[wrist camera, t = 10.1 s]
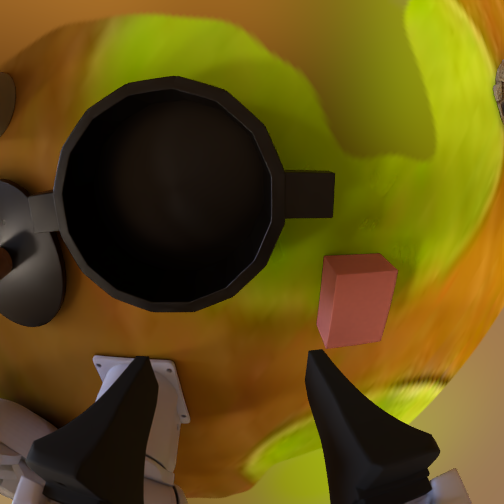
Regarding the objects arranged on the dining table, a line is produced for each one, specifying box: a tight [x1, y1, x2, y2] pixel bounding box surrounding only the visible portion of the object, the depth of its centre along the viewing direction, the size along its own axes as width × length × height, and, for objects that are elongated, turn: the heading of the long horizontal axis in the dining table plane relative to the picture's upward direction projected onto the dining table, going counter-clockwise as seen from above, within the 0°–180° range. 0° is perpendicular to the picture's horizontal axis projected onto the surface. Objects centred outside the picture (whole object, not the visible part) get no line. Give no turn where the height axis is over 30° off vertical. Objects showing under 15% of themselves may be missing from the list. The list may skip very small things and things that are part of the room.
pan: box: [28, 76, 335, 312], centre depth 15 cm, size 12×18×4 cm
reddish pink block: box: [317, 253, 398, 349], centre depth 20 cm, size 6×4×3 cm
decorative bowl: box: [0, 399, 58, 500], centre depth 22 cm, size 30×30×15 cm
